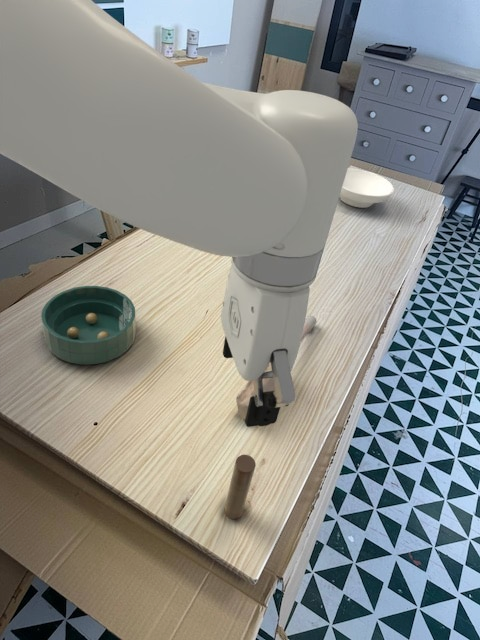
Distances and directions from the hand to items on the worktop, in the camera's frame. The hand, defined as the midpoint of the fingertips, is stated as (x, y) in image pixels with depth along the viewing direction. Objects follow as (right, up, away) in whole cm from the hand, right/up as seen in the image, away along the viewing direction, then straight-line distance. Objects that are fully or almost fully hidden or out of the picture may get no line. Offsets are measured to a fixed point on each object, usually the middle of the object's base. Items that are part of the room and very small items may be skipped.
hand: (247, 386), depth 51 cm
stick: (-2, -18, +11) cm, 21 cm away
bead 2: (-28, +8, +33) cm, 44 cm away
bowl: (+35, +43, +93) cm, 108 cm away
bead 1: (-30, +5, +30) cm, 42 cm away
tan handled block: (+6, -1, +33) cm, 34 cm away
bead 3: (-24, +4, +30) cm, 39 cm away
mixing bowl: (-27, +4, +32) cm, 42 cm away
